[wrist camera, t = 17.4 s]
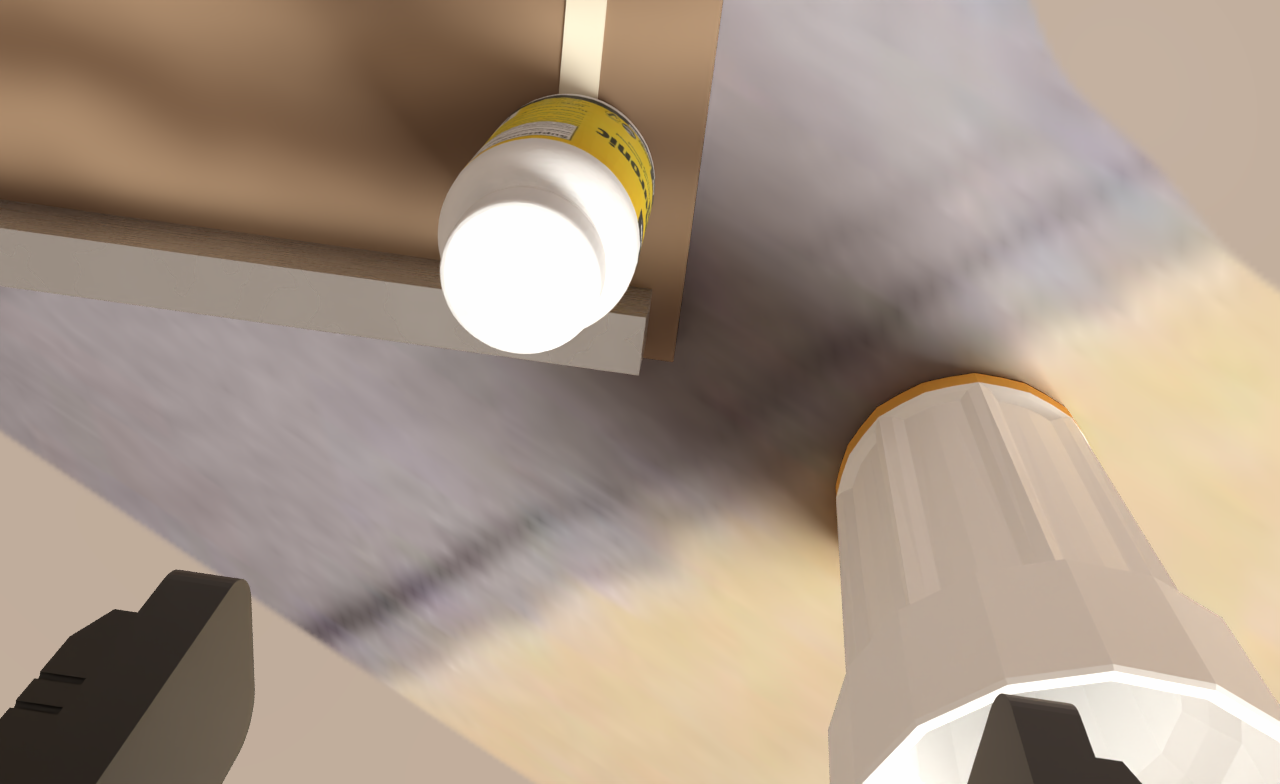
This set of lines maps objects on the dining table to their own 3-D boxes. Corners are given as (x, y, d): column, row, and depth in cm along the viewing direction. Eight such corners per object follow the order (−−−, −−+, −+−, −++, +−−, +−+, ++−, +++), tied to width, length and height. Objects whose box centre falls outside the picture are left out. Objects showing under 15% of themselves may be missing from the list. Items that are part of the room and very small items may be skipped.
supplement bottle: (670, 245, 38) (644, 371, 29) (507, 266, 39) (435, 394, 30) (643, 76, 36) (607, 157, 27) (471, 101, 37) (382, 189, 28)
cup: (888, 295, 40) (972, 597, 24) (1189, 412, 41) (1456, 776, 25) (757, 554, 45) (758, 944, 29) (1029, 654, 46) (1170, 1084, 30)
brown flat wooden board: (-177, -200, 36) (-215, -201, 35) (734, -83, 35) (733, -80, 34) (-103, 236, 42) (-133, 250, 41) (675, 344, 41) (672, 363, 40)
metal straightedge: (-115, 183, 40) (-167, 205, 38) (652, 289, 39) (645, 317, 37) (-105, 239, 41) (-156, 264, 38) (645, 344, 40) (638, 375, 38)
